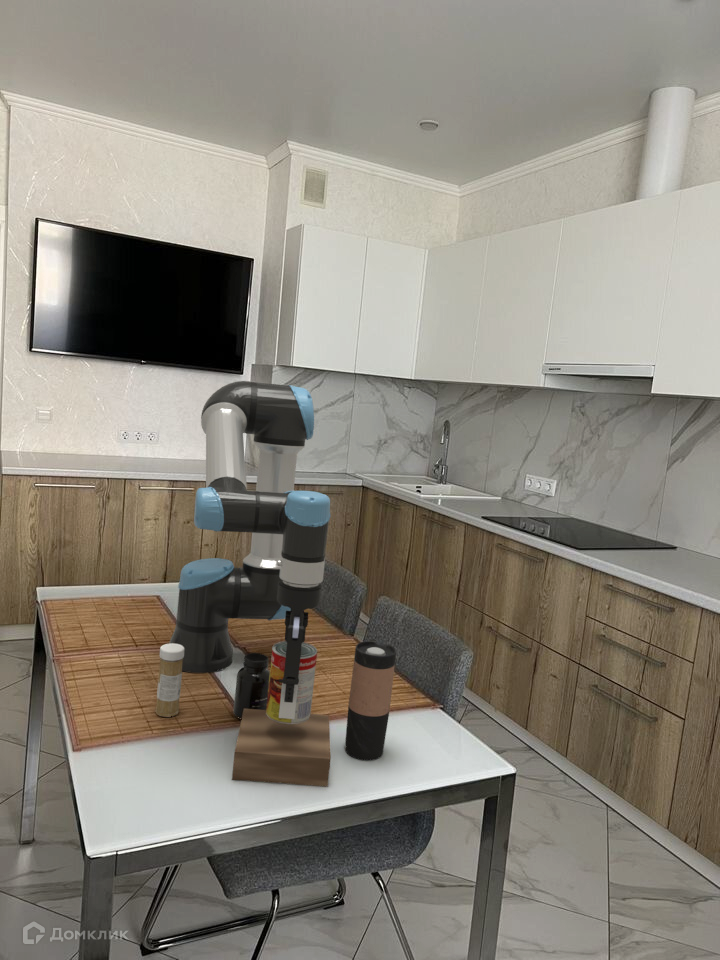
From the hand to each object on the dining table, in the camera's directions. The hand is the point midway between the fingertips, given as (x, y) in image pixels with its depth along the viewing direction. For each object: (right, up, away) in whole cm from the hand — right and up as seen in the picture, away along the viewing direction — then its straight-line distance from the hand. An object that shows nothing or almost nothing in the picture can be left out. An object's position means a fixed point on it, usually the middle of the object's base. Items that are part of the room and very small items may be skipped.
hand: (287, 706), depth 131 cm
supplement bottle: (-9, -7, +17) cm, 20 cm away
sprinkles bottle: (-25, -6, +14) cm, 29 cm away
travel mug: (+13, -11, +7) cm, 19 cm away
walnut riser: (-1, -10, +1) cm, 10 cm away
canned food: (0, -2, 0) cm, 2 cm away
